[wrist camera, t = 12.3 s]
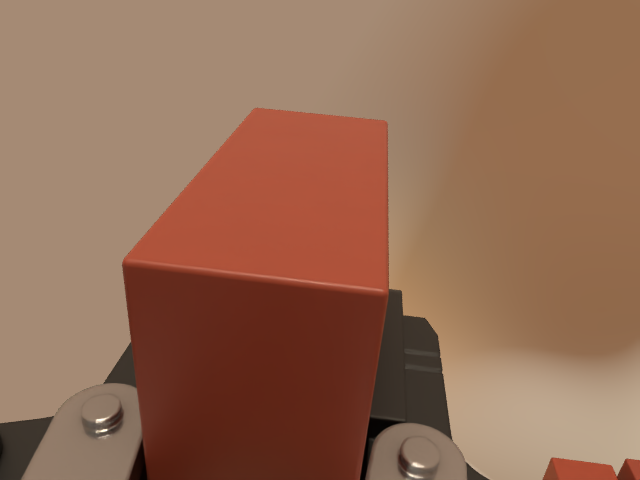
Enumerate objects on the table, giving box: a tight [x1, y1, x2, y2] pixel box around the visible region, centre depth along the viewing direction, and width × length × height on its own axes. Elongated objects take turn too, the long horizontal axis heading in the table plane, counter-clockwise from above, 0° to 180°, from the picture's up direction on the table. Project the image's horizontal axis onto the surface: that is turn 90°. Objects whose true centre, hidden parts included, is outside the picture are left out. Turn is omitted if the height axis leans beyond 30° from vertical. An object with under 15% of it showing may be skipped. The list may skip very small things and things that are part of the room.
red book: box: [122, 108, 389, 480], centre depth 10 cm, size 3×6×10 cm, turn 174°
